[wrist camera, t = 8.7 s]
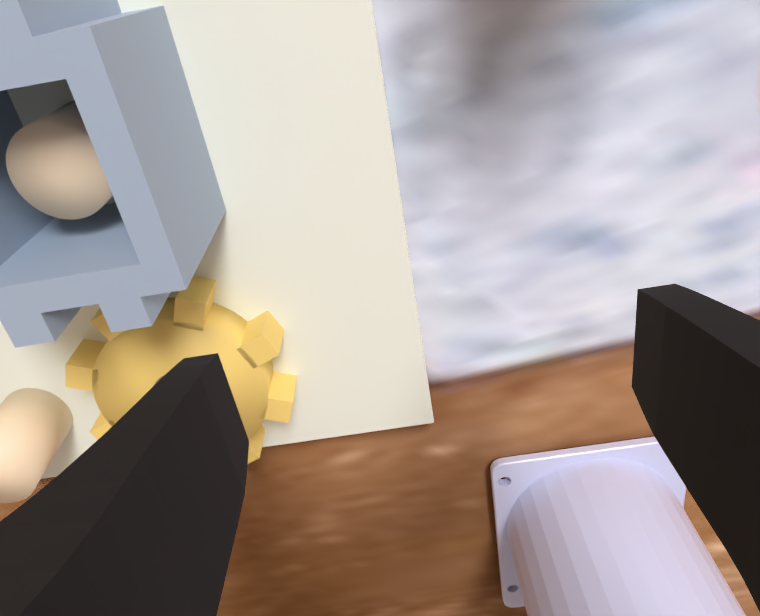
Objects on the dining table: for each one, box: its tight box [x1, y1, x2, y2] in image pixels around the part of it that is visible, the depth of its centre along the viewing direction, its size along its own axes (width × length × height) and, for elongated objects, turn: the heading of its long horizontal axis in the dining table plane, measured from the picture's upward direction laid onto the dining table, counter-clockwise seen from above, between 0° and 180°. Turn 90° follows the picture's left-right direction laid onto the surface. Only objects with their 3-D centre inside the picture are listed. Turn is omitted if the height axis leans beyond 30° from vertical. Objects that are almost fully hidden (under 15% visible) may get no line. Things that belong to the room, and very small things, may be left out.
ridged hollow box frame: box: [0, 0, 226, 348], centre depth 15 cm, size 7×6×5 cm
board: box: [0, 0, 434, 503], centre depth 18 cm, size 18×16×4 cm
